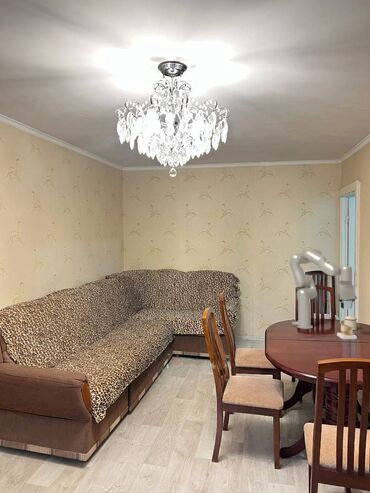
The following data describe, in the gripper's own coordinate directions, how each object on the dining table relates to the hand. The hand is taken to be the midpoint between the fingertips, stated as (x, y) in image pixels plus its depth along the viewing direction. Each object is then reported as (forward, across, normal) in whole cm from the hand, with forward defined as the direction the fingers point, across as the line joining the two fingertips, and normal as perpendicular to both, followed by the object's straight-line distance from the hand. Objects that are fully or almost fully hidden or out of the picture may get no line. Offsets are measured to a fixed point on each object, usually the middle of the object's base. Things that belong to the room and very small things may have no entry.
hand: (346, 307), depth 265 cm
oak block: (+19, 0, 0) cm, 19 cm away
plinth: (+21, 0, 0) cm, 21 cm away
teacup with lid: (+22, +11, +23) cm, 33 cm away
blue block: (0, 0, 0) cm, 0 cm away
